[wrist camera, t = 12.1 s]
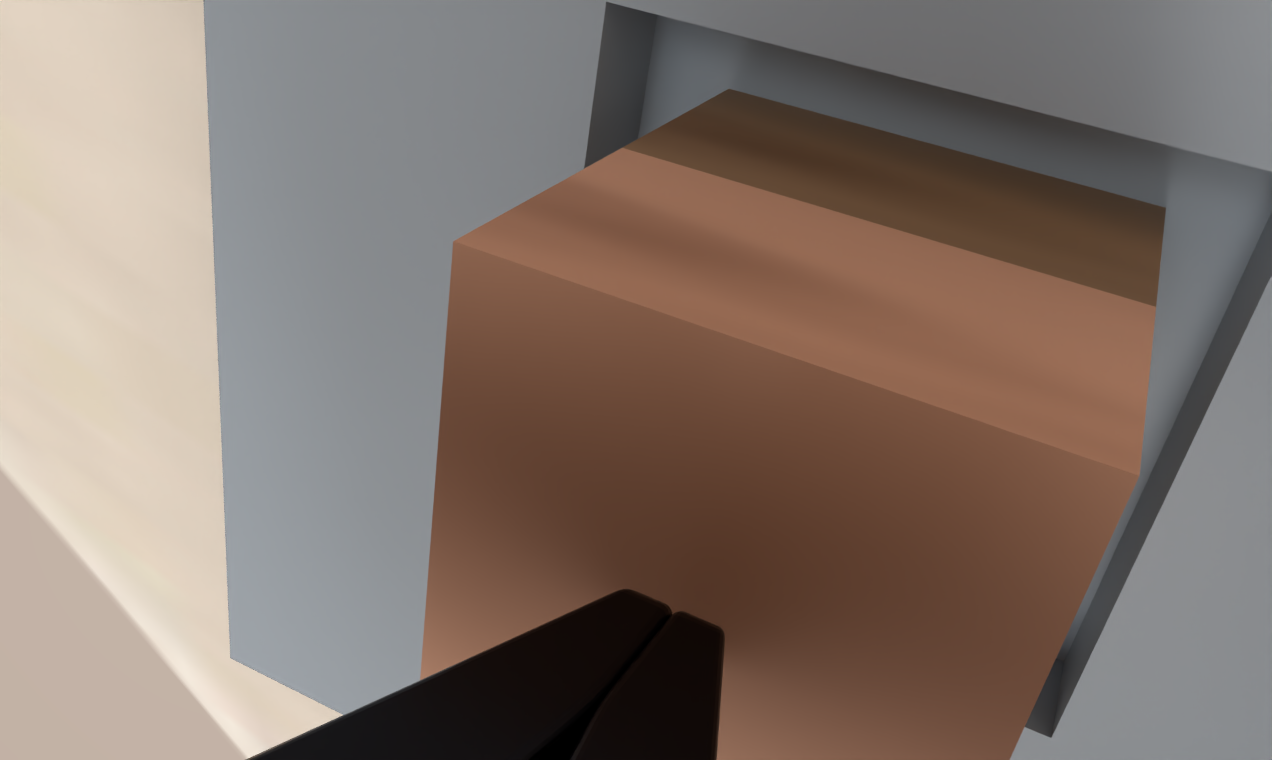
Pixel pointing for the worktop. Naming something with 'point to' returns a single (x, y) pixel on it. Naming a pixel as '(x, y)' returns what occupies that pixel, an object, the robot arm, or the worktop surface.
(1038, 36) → the socket board
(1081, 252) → the brown block
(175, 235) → the worktop surface
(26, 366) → the worktop surface
